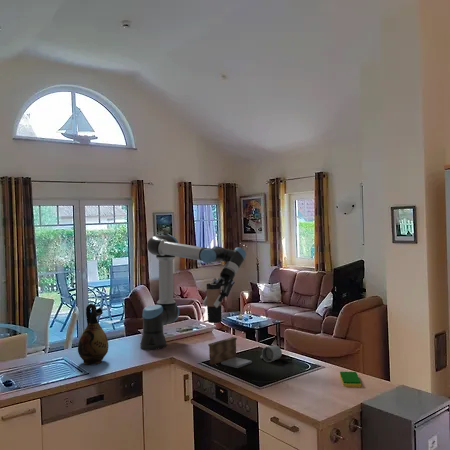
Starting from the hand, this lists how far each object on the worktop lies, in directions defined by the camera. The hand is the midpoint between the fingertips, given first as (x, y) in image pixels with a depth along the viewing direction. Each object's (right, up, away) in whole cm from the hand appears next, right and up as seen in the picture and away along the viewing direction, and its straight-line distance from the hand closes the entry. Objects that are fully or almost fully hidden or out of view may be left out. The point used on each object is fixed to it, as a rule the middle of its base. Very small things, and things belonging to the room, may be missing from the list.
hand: (209, 305), depth 235 cm
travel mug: (+3, -9, +2) cm, 10 cm away
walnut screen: (+7, -28, -3) cm, 29 cm away
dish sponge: (+62, -27, -39) cm, 78 cm away
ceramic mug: (+31, -27, -5) cm, 42 cm away
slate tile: (+14, -27, -10) cm, 32 cm away
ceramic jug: (-61, -30, -1) cm, 68 cm away
